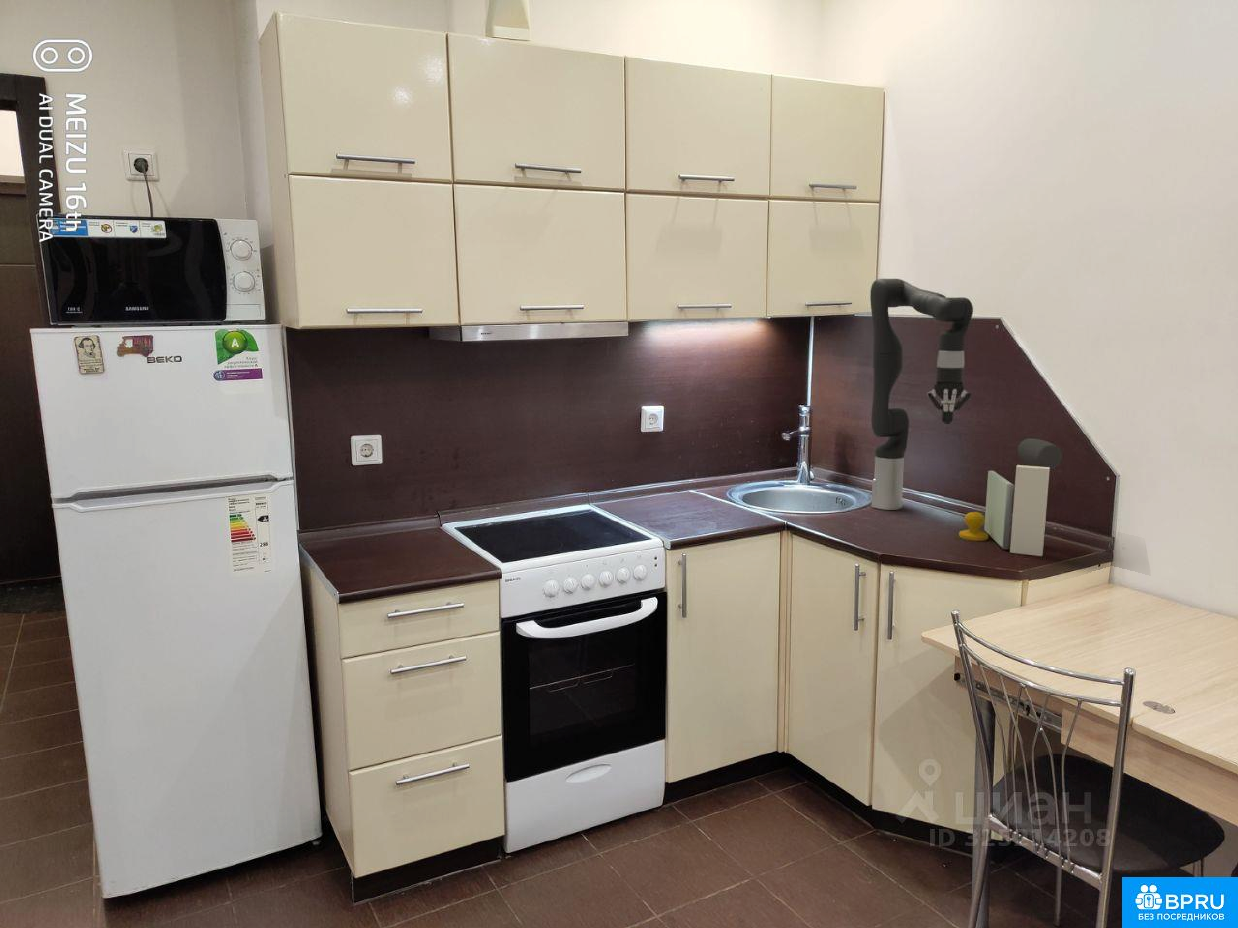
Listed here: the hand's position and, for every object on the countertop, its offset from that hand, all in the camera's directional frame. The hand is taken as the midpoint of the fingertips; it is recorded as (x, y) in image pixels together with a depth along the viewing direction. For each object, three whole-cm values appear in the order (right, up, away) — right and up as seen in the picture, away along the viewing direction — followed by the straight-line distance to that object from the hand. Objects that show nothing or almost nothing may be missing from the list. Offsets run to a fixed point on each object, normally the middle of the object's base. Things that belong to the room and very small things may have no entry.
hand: (946, 423), depth 266 cm
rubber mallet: (+19, -35, -15) cm, 42 cm away
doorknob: (+5, -34, -7) cm, 35 cm away
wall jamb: (+13, -37, -23) cm, 45 cm away
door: (+10, -34, -11) cm, 37 cm away
